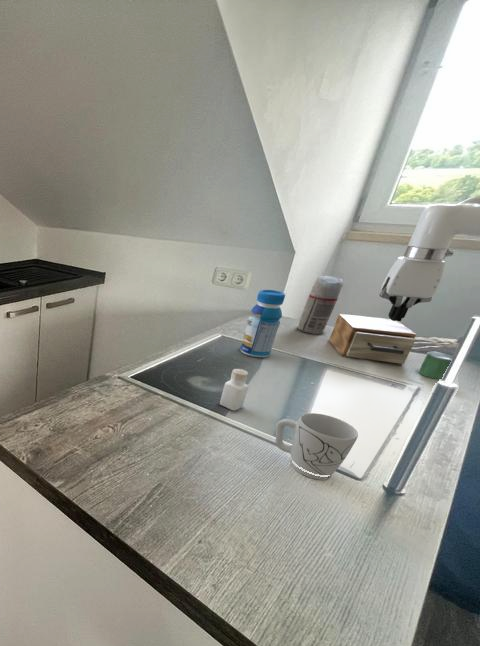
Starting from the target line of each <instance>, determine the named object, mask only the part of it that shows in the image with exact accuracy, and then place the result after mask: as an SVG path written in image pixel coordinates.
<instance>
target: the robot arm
mask: <svg viewBox="0 0 480 646" xmlns="http://www.w3.org/2000/svg"><path fill="white" fill-rule="evenodd" d="M455 235H462V236H469V237H476V238H480V194H477V195H475V196H472V197H470V198H467V199H465V200H463V201H460V202H458V203H457V204H451V203H447V204H446V203H433V204H428V205H427V206H425V207H424V208H423V210H422V212H421V214H420V217H419V219H418V221H417V224H416V226H415V229H414V231H413V233H412V236H411V238H410V239H409V242H408V245H407V247H406V249H405V251H404V253H403V255H402V256H399V257H397V259H396V260H395V261H394V263H393V264H392V266H391V268H390V269H389V270H388V272H387V275H386V277H385V278H384V280H383V283H382V284H381V286H380V287H381V288H380V290H381V292H380V293H379V295H378V296H379V297H380V298H382V299H385V300H388V301H389V302H390V303H391V308H390V310H389V312H388V319H391V320H392V321H396V320H397V321H398V322H402V320H403V319H404V318H405V317H406V315H407V313H408V311H409V309H411V308H412V307H413V306H415V305H417V304H420V303H430V302H432V299H433V297H434V296H435V294H436V292H437V290H438V289H439V286H440V284H441V280H442V278H443V274H444V271H445V265H446V261H445V259H446V258H447V257H452V256H453V255H454V251H453V250H450V249H449V248H450V246H451V244H452V243H453V240H454V238H455ZM404 297H405V298H404ZM403 298H404V299H403Z"/></svg>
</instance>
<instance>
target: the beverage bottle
mask: <svg viewBox="0 0 480 646" xmlns="http://www.w3.org/2000/svg"><path fill="white" fill-rule="evenodd" d="M285 297H286V293H285V292H283V291H280V290H274V289H260V290H259V291H258V293H257V297H256V302H257V303H256V304H255V305H254V306H253V307H252V309H251V310H250V316H249V317H248V318H247V321H246V322H247V323H246V327H245V332H244V336H243V339H242V342H241V345H240V352H241V353H243V354H244V355H246V356H249V357H253V358H268V357H269V356H270V354H271V352H272V348H273V345H274V342H275V338H276V335H277V332H278V329H279V327H280V326H281V321H280V320H281V319H282V317H283V312H282V309H281V306H282V305H283V304H284V301H285Z"/></svg>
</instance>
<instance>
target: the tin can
mask: <svg viewBox="0 0 480 646" xmlns="http://www.w3.org/2000/svg"><path fill="white" fill-rule="evenodd" d="M453 356H454V355H452V354H449V353H445V352H441V351H428V352H427V354H426V356H425V357H424V360H423V362H422V363H421V366H420V368H419V370H418V373H419V374H420V375H422V376H424V377H427V378H431V379H437V380H443V379H442V377H443V374H444V373H445V371H446V369H447V367H448V366H449V364H450V362H451V360H452V358H453Z"/></svg>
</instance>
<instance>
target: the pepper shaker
mask: <svg viewBox="0 0 480 646" xmlns="http://www.w3.org/2000/svg"><path fill="white" fill-rule="evenodd" d="M231 371H232V372H231V375H230V380H228V381H226V382H225V383H224V385H223V389H222V393H221V397H220V401H219V405H220V406H223V407H225V408H226V409H228V410H231V411H237V410H239V409H242V408H243V406H244V403H245V400H246V397H247V393H248V390H249V385H248V384H247V383H246V381H247V379H248V376H249V372H248V371H246V370H245V369H242V368H233V370H231Z"/></svg>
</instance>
